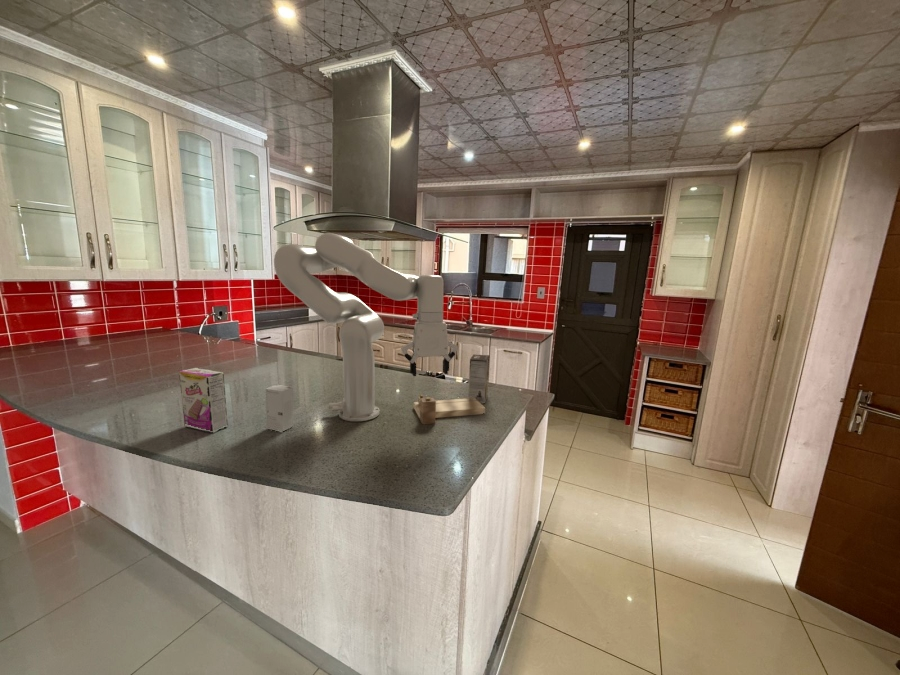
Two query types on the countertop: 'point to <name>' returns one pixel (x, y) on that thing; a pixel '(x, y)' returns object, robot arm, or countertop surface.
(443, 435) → the countertop surface
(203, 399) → the candy bar box
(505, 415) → the countertop surface
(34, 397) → the countertop surface
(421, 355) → the robot arm
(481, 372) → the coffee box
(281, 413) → the skincare box
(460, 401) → the board
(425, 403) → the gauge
